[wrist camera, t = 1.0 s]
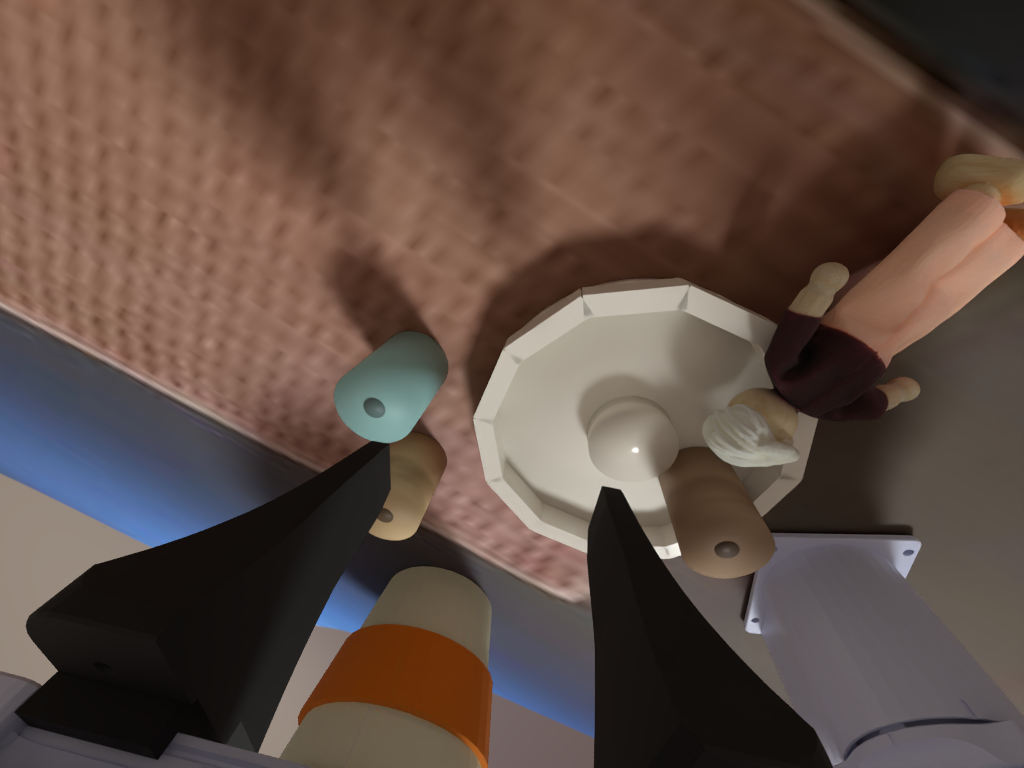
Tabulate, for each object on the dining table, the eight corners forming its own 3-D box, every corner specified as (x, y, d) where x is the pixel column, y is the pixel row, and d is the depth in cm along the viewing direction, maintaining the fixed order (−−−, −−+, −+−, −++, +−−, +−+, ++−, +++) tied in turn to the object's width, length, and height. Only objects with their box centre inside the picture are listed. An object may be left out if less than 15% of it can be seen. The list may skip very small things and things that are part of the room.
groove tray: (762, 529, 23) (780, 562, 21) (506, 525, 26) (501, 553, 24) (821, 259, 16) (857, 268, 14) (463, 295, 19) (450, 308, 17)
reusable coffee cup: (369, 627, 34) (242, 899, 21) (364, 534, 29) (184, 830, 15) (502, 660, 34) (458, 962, 20) (525, 571, 28) (483, 914, 15)
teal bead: (454, 391, 22) (424, 442, 17) (393, 394, 22) (349, 444, 18) (440, 328, 20) (402, 367, 16) (375, 334, 21) (321, 372, 16)
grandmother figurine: (890, 148, 14) (643, 388, 18) (1014, 107, 10) (672, 420, 14) (1004, 283, 15) (752, 483, 19) (1151, 290, 12) (805, 537, 15)
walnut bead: (727, 500, 21) (767, 581, 17) (656, 499, 22) (678, 577, 18) (735, 445, 20) (783, 519, 15) (659, 447, 20) (683, 518, 16)
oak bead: (452, 479, 25) (425, 542, 20) (398, 479, 25) (362, 540, 21) (439, 431, 23) (408, 487, 19) (383, 432, 24) (339, 488, 19)
